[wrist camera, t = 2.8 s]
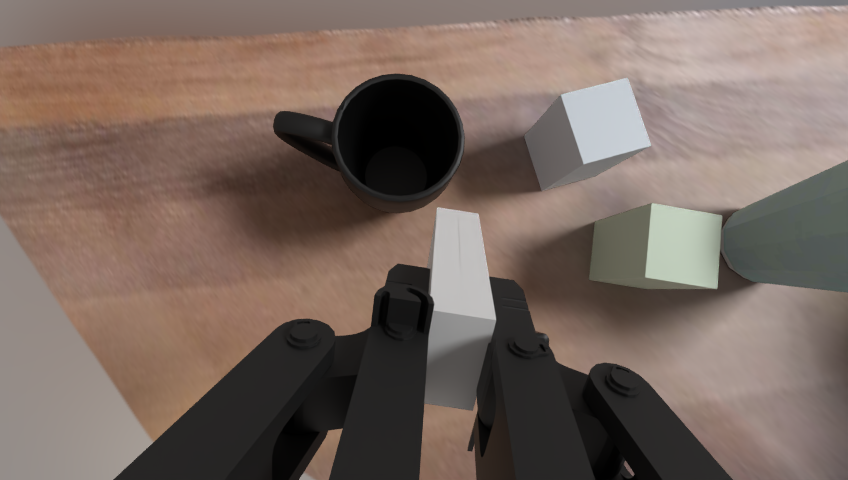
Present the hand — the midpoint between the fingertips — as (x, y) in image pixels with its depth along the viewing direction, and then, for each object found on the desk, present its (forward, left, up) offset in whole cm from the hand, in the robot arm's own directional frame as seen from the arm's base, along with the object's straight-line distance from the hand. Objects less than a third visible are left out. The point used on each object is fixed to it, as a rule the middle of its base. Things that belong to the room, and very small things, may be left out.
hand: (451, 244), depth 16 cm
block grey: (-13, -8, -19) cm, 25 cm away
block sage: (-17, +1, -19) cm, 26 cm away
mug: (+3, -8, -20) cm, 21 cm away
